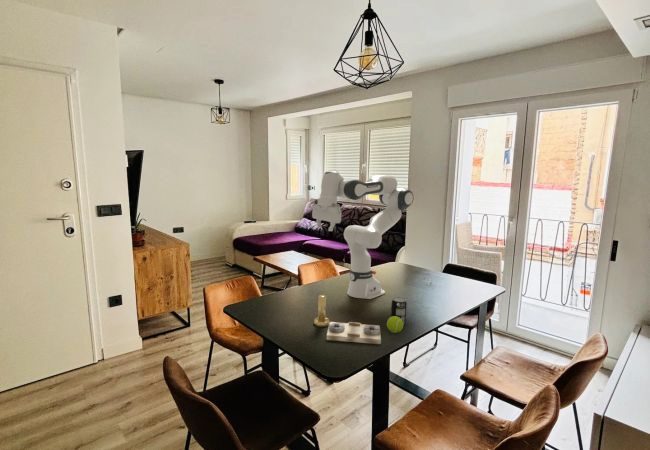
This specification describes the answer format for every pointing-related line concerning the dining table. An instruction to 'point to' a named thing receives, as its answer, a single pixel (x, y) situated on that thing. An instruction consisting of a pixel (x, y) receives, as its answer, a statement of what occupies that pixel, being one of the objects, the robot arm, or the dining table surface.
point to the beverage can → (399, 308)
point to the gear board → (354, 332)
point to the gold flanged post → (321, 313)
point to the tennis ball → (395, 324)
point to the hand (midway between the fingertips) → (324, 229)
